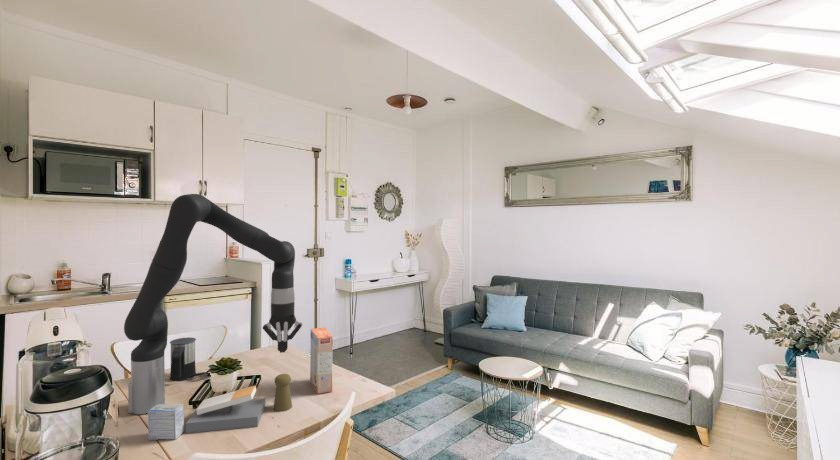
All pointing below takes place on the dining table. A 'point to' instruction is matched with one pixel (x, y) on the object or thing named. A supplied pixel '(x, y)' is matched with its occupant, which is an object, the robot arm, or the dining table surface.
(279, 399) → the olive green pawn
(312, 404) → the dining table surface
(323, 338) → the cracker box
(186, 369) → the milk frother
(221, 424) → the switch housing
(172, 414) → the medicine box
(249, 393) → the rocker switch
